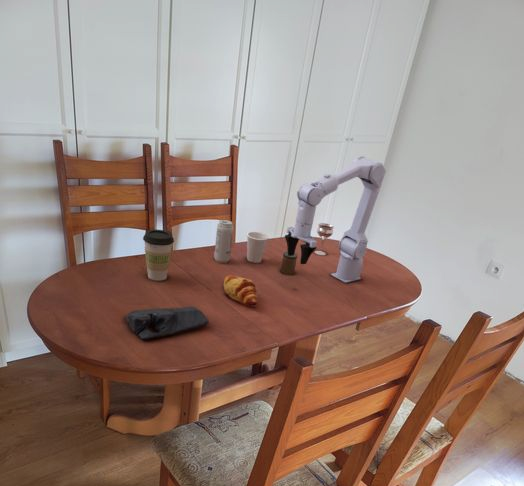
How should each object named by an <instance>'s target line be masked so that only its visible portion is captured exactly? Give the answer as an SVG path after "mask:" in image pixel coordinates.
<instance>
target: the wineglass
mask: <svg viewBox="0 0 524 486" xmlns="http://www.w3.org/2000/svg"><path fill="white" fill-rule="evenodd" d="M334 228H335V226H334V225H332V224H329V223H326V222H320V223H318V226H317V228H316V232H317V235H318V236H319V237H320V238H321V244H320V250H314V253H315V255H316V254H317V255H318V256H326V254H327V253H326V252H325V251H322V249H323V244H324V241H325V240H326V239H328V238H331V236H332V235H333V234H334Z"/></svg>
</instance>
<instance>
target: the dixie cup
mask: <svg viewBox="0 0 524 486" xmlns="http://www.w3.org/2000/svg"><path fill="white" fill-rule="evenodd" d="M246 236H247V238H246V239H247V244H246V245H247V246H246V247H247V248H246V260H247V261H248V262H250V263H255V264H259V263H261V262H262V259H263V257H264V253H265V249H266V246H267V242H268V240H269V235H267V234H266V233H263V232H260V231H249V232H247V234H246Z"/></svg>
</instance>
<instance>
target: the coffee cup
mask: <svg viewBox="0 0 524 486" xmlns="http://www.w3.org/2000/svg"><path fill="white" fill-rule="evenodd" d="M142 240H143V242H144V255H145V264H146V269H147V270H146V271H147V277H148V279H149V280H152V281H157V282H158V281H159V282H160V281H165V280H167V278H168V272H169V268H170V264H171V263H170V262H171V256H172V251H173V249H172V248H173V244H174V242H175V239H174V237H173V233H172V232H169V231H167V230H163V229H148V230H147V231H145V233H144V235H143V237H142Z"/></svg>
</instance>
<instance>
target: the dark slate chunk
mask: <svg viewBox="0 0 524 486" xmlns="http://www.w3.org/2000/svg"><path fill="white" fill-rule="evenodd" d="M125 320H126V323H127V324H128V325H129V328H130V330H131V331H132V332H133V334H135V335H137V336H138V338H140V339H141V340H144V341H145V340H150V339H152V338H163V337H166V336H167V337H168V336H172V335H174V334H179V333H185V332H188V331H192V330H197V329H198V328H200V327H203V326H206V325H208V324H209V319H208V317H207V316H206V315H205V314H204V313H203V312H202V310H200V309H199V308H197V307H196V306H193V305H191V306H186V307H181V308H180V307H179V308H167V307H166V308H165V307H164V308H150V309H149V308H148V309H147V308H145V309H136V310H132V311H130V312H129V314H128V315H127V316H125ZM150 328H153V329H154V331H155V332H152V331H151V330H150Z"/></svg>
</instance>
